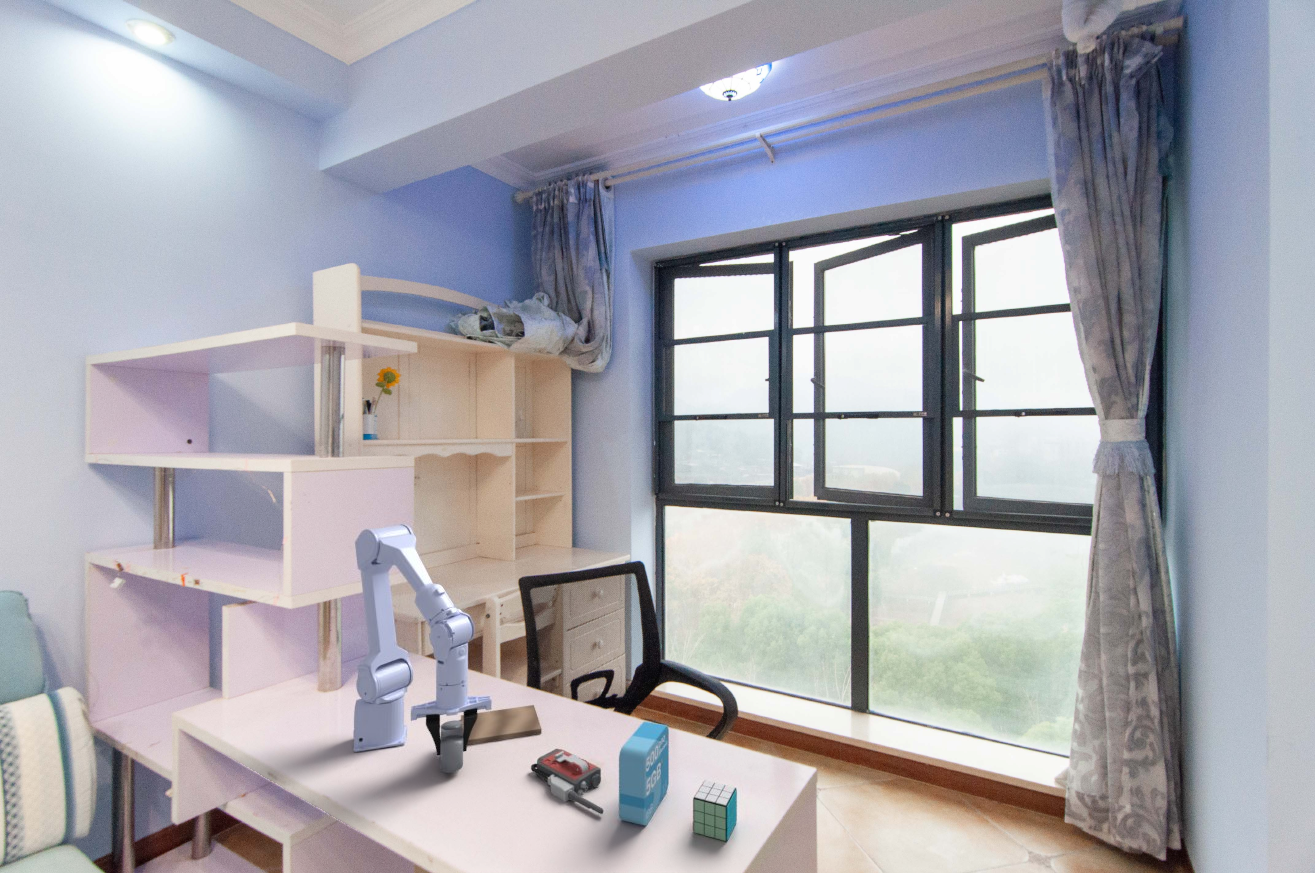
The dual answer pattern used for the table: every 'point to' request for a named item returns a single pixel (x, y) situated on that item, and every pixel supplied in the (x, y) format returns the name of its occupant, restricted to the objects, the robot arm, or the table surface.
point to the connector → (451, 746)
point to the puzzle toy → (715, 810)
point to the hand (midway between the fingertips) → (451, 750)
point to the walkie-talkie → (568, 776)
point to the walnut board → (504, 724)
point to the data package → (643, 772)
